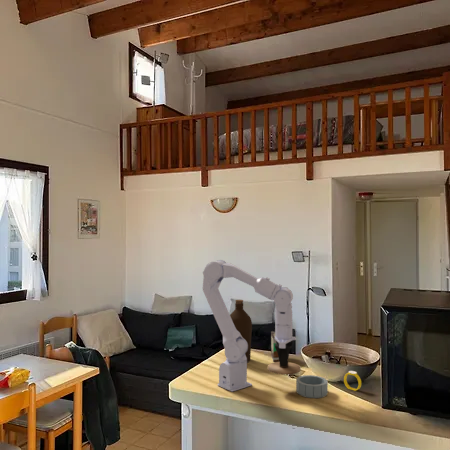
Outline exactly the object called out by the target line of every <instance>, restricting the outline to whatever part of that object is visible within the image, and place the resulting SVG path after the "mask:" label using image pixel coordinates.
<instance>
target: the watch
mask: <svg viewBox="0 0 450 450" xmlns="http://www.w3.org/2000/svg"><path fill="white" fill-rule="evenodd" d="M348 376H354V377H355V378H356V379H357V382H358V386H357V387H356V388H355V387H351V386H350V384H349V383H348V381H347V379H348ZM343 384H344V385H345V387H346V388H347V389H348V390H352V391H354V392H356V391H358V390H360V389H361V387H362V379H361V377H360V376H359V374H358V372H357V371H354V370H349V371H348V372H347V373H345V375H344V377H343Z"/></svg>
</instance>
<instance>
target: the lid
mask: <svg viewBox="0 0 450 450" xmlns="http://www.w3.org/2000/svg"><path fill="white" fill-rule="evenodd" d="M267 370H268V371H269V372H270V373H273V374H276V375H284V376H285V375H296V374H298V373H299V372H301V366H300V365H299V364H297V363H295V362H289V361H288V363H287V366H280V362H279V361H278V362H272V363H271V362H270V363H269V364H268V365H267Z"/></svg>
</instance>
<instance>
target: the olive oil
mask: <svg viewBox="0 0 450 450" xmlns="http://www.w3.org/2000/svg"><path fill="white" fill-rule="evenodd" d="M234 308H235V309H234V310H233V311H232V312H231V313H229V314H230V317H231V319H232V321H233V323H234V326H235V328H236V330H237V331H238V332H239V333H240V334H241V336H242V337H243V338H244V339H245V340H246V342H247V343H248V350H247V352H246V353H245V355H246V357H247V363H249V362H250V361H251V357H252V356H251V353H252V351H251V350H252V349H251V348H252V332H253V331H252V330H253V321H252V317H250V315H249V314H248V313H247V312H246V311H245V310H244V300H243V299H235V303H234Z"/></svg>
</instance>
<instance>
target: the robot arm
mask: <svg viewBox="0 0 450 450" xmlns="http://www.w3.org/2000/svg"><path fill="white" fill-rule="evenodd" d="M202 274H203V278H202V279H203V280H202V291H203V293H204V296H205V298H206V300H207V303H208V305H209V308H210V310H211V312H212V314H213V317H214V320H215V321H216V324H217V325H218V328H219V330H220V332H221V335H222V344H223V348H224V356H225V358H226V359H225V361H223V362H222V363H220V365H219V367H218V369H219V370H218V383H217V386H218V387H221V388H223V389H225V390H228V391H230V392H235V391H239V390H243V389H245V388H248V387H252V386H253V384H252V383H251V382H248V362H247V357H246V355H245V353H246V352H247V350H248V343H247V342H246V340H245V339H244V338H243V337H242V336H241V334H240V333H239V332H238V331H237V330H236V328H235V326H234V323H233V321H232V319H231V317H230V314H231V313H230V312H229V309H228V308H227V306H226V303H225V301H224V299H223V297H222V294H221V292H220V290H219V287H220V285H221V283H222V282H223V280H224V279H227V278H233V279H236V280H238V281H240V282H242V283H245V284H246V285H249V286H251V287H253V289H254V291H255V293H256V294H258V295H261V296H262V297H265V298H267V299H268V300H270V301H273V302H274V304H275V310H274V312H275V313H274V314H275V315H274V316H275V318H274V322H275V323H274V324H275V326H274V328H275V329H274V332H275V340H276V344H275V349H276V351H277V353H278V357H279V361H278V362H280V366H287V363H288V362H289V356H290V352H291V349H292V347H293V343H294V342H293V341H296V340H297V338H296V336H293V310H292V309H293V306H292V305H293V304H292V301H293V299H294V295H293V292H292V291H291V290H290V289H289V288H288V287H286V286H283V285H282V284H277V283H275V282H273V281H271V280H270V279H271V278H269V277H259V278H258V277H255V276H254V275H252V274H251V273H248V272H247V271H245V270H243V269H242V268H240V267H238V266H236V265H234V264H232V263H231V262H227V261H225V260H223V259H218V260H215V261H209V262H208V263H207V264H206V265H205V267H204V269H203V271H202Z"/></svg>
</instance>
